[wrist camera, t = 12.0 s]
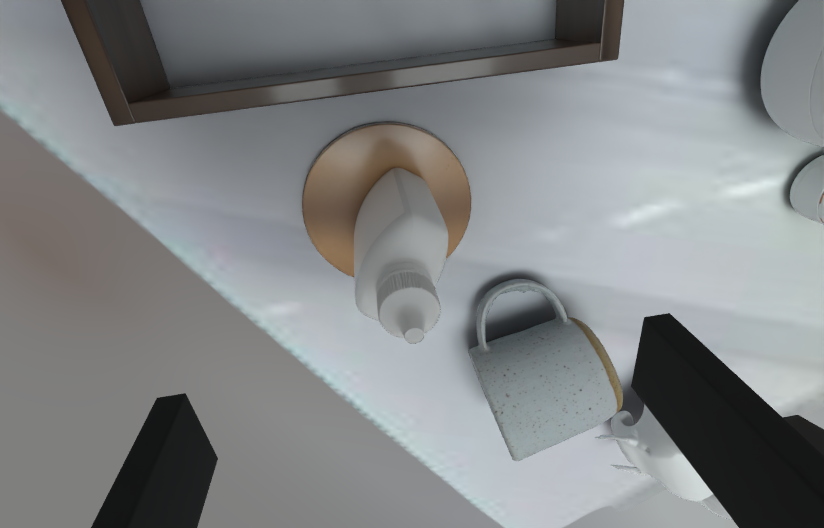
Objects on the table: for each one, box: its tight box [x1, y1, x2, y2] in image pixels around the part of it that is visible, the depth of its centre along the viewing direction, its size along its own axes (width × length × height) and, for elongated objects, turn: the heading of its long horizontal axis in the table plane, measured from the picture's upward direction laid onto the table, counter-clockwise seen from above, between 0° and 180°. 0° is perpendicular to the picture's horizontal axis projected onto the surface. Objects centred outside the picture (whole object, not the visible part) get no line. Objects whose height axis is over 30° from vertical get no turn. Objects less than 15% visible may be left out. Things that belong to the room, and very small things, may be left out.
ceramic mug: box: [469, 279, 623, 461], centre depth 29 cm, size 11×8×8 cm
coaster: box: [302, 122, 471, 277], centre depth 26 cm, size 10×10×1 cm
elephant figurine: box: [595, 404, 733, 520], centre depth 34 cm, size 10×12×9 cm
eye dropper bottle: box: [354, 167, 448, 344], centre depth 21 cm, size 4×6×12 cm
